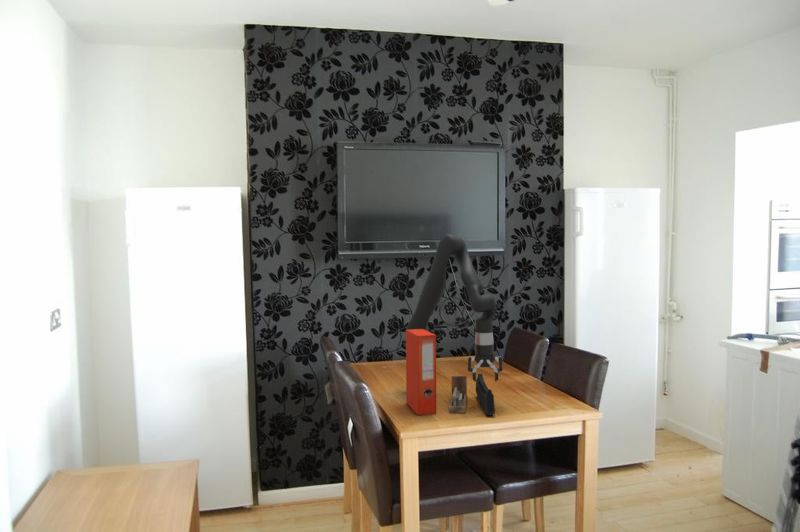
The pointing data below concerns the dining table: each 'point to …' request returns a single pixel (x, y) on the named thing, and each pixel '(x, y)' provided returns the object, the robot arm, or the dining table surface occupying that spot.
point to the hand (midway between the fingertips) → (485, 381)
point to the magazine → (485, 396)
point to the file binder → (421, 371)
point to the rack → (461, 385)
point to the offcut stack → (457, 398)
